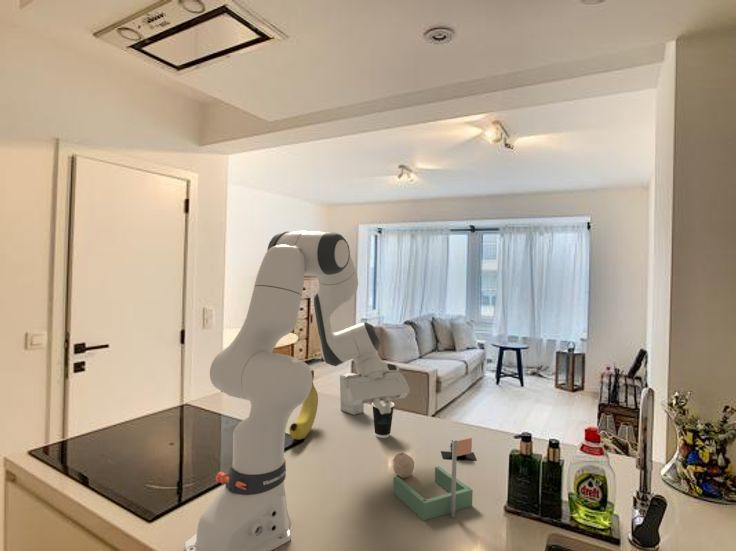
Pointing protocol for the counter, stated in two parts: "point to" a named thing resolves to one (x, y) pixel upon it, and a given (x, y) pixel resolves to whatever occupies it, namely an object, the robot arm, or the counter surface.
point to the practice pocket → (457, 490)
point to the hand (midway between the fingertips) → (386, 412)
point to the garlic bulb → (403, 465)
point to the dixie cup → (382, 421)
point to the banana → (305, 415)
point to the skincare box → (345, 403)
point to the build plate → (467, 457)
